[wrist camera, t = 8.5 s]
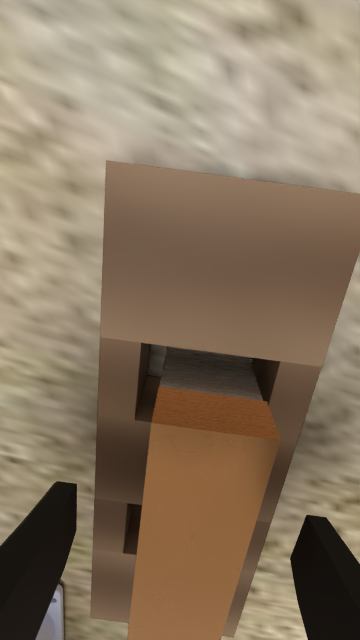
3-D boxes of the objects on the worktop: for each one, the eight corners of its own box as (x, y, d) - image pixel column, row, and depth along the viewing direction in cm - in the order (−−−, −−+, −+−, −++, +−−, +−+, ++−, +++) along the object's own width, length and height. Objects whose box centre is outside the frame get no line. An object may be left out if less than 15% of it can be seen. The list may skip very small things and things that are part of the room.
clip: (209, 495, 16) (216, 654, 10) (151, 487, 16) (126, 641, 10) (243, 335, 13) (280, 440, 7) (171, 326, 13) (151, 422, 7)
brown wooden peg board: (227, 569, 18) (233, 637, 15) (107, 552, 18) (90, 617, 15) (330, 197, 11) (377, 196, 8) (129, 171, 11) (105, 160, 8)
